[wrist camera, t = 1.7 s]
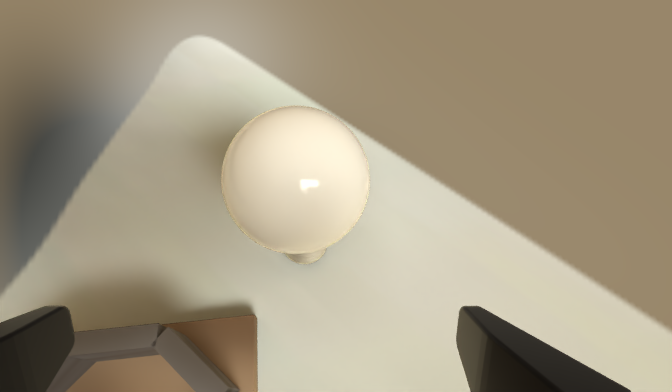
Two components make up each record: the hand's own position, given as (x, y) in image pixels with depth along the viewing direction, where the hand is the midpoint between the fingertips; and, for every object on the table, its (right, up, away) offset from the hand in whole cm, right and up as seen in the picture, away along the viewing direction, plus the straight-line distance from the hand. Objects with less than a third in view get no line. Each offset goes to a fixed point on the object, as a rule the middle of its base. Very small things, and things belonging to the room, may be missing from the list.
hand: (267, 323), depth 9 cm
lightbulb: (0, 0, +15) cm, 15 cm away
